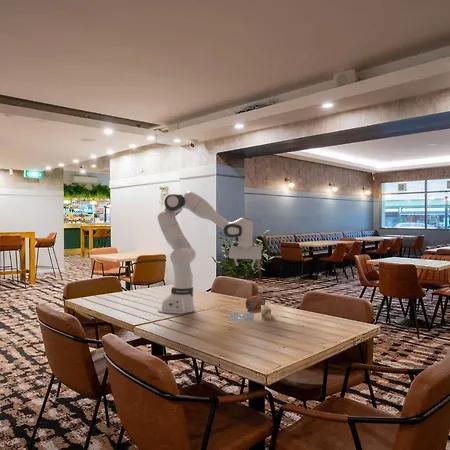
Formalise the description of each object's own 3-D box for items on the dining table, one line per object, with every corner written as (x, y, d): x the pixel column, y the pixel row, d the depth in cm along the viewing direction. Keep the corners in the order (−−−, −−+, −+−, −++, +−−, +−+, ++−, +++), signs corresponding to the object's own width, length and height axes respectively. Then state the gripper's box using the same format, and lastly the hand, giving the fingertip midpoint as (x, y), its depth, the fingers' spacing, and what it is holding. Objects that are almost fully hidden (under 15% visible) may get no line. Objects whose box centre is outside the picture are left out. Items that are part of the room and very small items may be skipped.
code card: (228, 320, 223) (228, 320, 223) (230, 313, 241) (230, 312, 241) (253, 321, 222) (253, 320, 222) (253, 313, 240) (253, 313, 240)
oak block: (261, 320, 225) (262, 309, 225) (260, 315, 237) (260, 305, 237) (270, 320, 224) (271, 309, 224) (269, 315, 236) (269, 305, 236)
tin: (248, 311, 245) (248, 297, 245) (244, 310, 247) (244, 297, 247) (265, 308, 254) (265, 295, 254) (262, 307, 257) (262, 294, 257)
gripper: (262, 244, 252) (261, 266, 253) (229, 243, 254) (228, 264, 254) (262, 244, 246) (261, 267, 246) (228, 243, 248) (228, 266, 248)
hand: (244, 266), depth 251 cm, fingers open, 8 cm apart
